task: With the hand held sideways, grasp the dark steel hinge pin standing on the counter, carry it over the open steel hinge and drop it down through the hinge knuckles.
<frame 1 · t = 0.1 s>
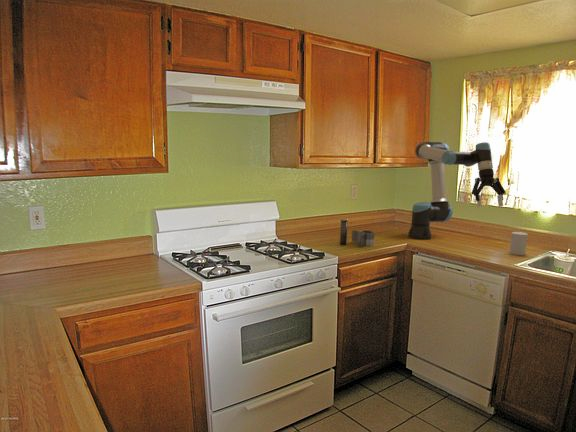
hand: (490, 206, 235), 28 cm above the worktop, tool tilted 20°, fingers open, 13 cm apart
cup: (517, 253, 245), on the worktop
hinge pin: (343, 244, 256), on the worktop
hinge: (366, 244, 258), on the worktop
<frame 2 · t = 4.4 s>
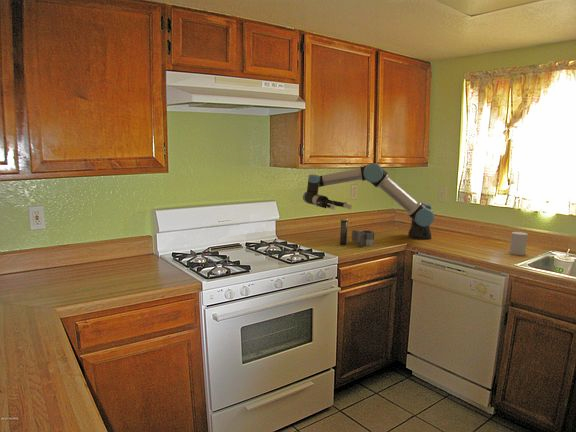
hand: (343, 207, 255), 23 cm above the worktop, tool horizontal, fingers open, 13 cm apart
nothing on the worktop moved.
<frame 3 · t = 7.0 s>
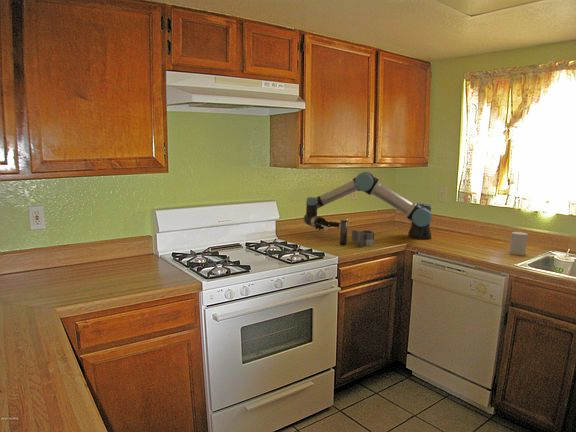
hand: (336, 228, 262), 9 cm above the worktop, tool horizontal, fingers open, 13 cm apart
nothing on the worktop moved.
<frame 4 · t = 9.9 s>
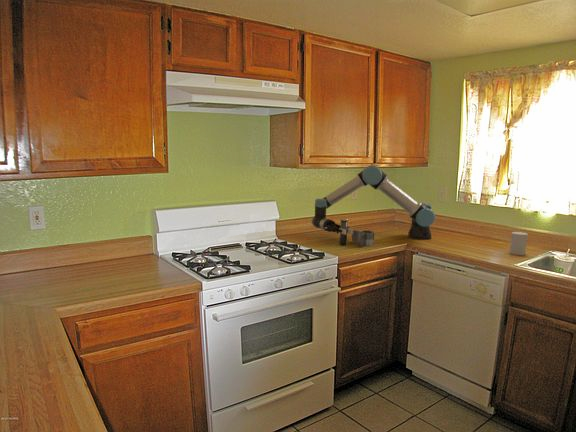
hand: (348, 231, 250), 9 cm above the worktop, tool horizontal, fingers closed on hinge pin, 4 cm apart
hinge pin: (343, 244, 256), on the worktop, touching gripper
everything else where it was.
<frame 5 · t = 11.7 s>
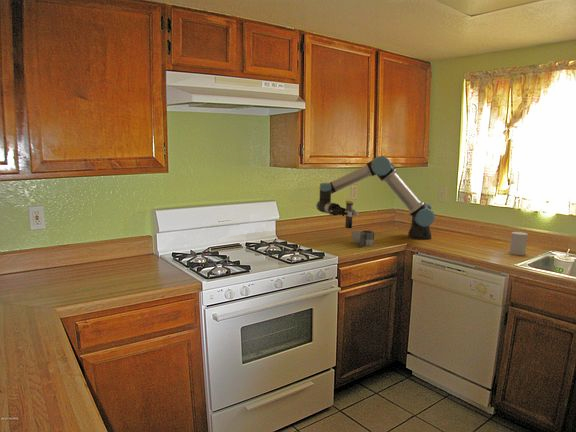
hand: (354, 214, 249), 20 cm above the worktop, tool horizontal, fingers closed on hinge pin, 4 cm apart
hinge pin: (348, 227, 255), point 11 cm above the worktop, touching gripper
everything else where it was.
when the fingers open (14 cm above the worktop, at t = 14.0 s): hinge pin drops 5 cm, resting in hinge.
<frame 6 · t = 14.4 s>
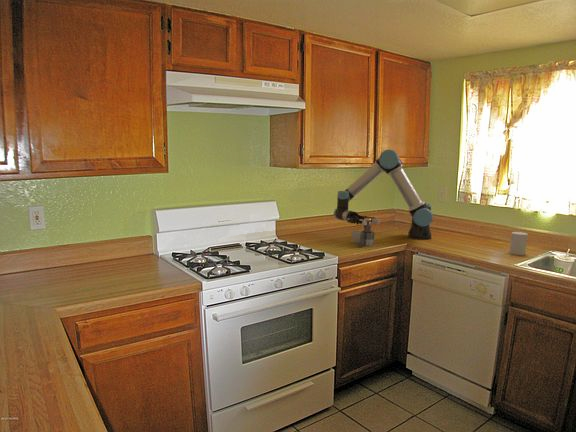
hand: (372, 222, 252), 14 cm above the worktop, tool horizontal, fingers open, 9 cm apart
hinge pin: (366, 244, 258), resting in hinge
everything else where it was.
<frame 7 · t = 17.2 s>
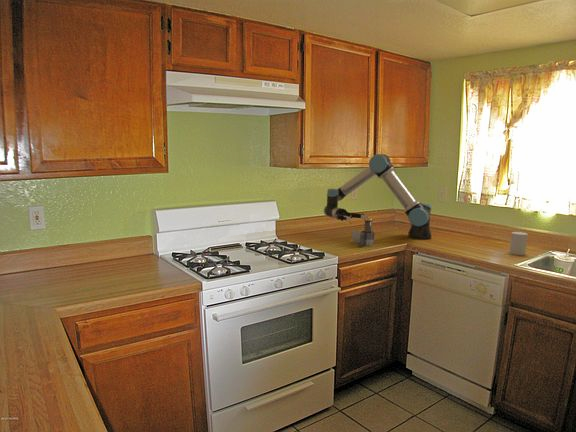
hand: (358, 218, 264), 15 cm above the worktop, tool horizontal, fingers open, 13 cm apart
nothing on the worktop moved.
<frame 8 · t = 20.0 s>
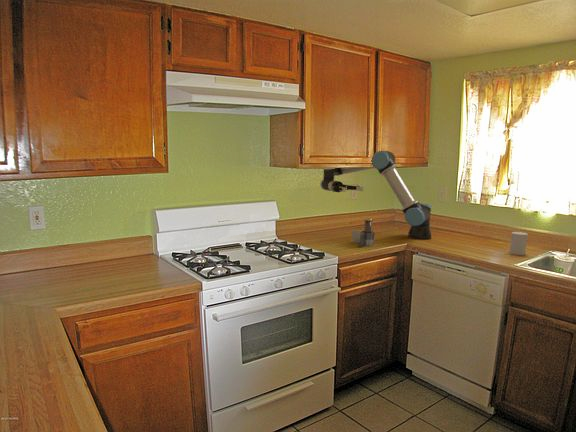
hand: (354, 189, 270), 32 cm above the worktop, tool horizontal, fingers open, 13 cm apart
nothing on the worktop moved.
at the end: hinge pin 0.1 cm from the hinge (horizontally); hinge pin resting in hinge; hinge pin tilted 0° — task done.
